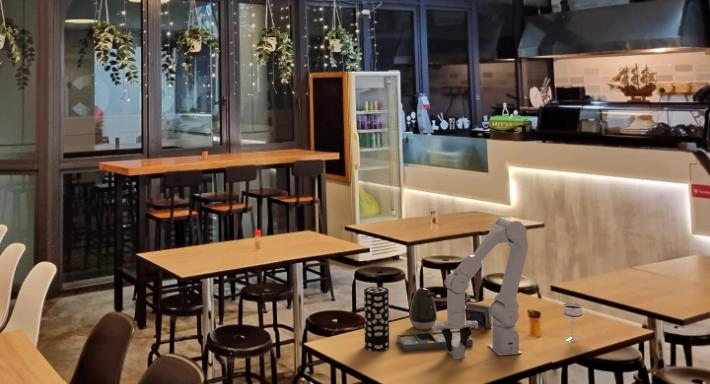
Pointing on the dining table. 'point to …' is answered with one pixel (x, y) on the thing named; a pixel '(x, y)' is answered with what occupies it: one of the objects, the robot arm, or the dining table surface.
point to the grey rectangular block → (457, 349)
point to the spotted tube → (376, 318)
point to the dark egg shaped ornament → (423, 310)
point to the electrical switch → (479, 314)
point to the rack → (427, 341)
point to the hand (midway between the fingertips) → (455, 350)
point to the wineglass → (572, 316)
